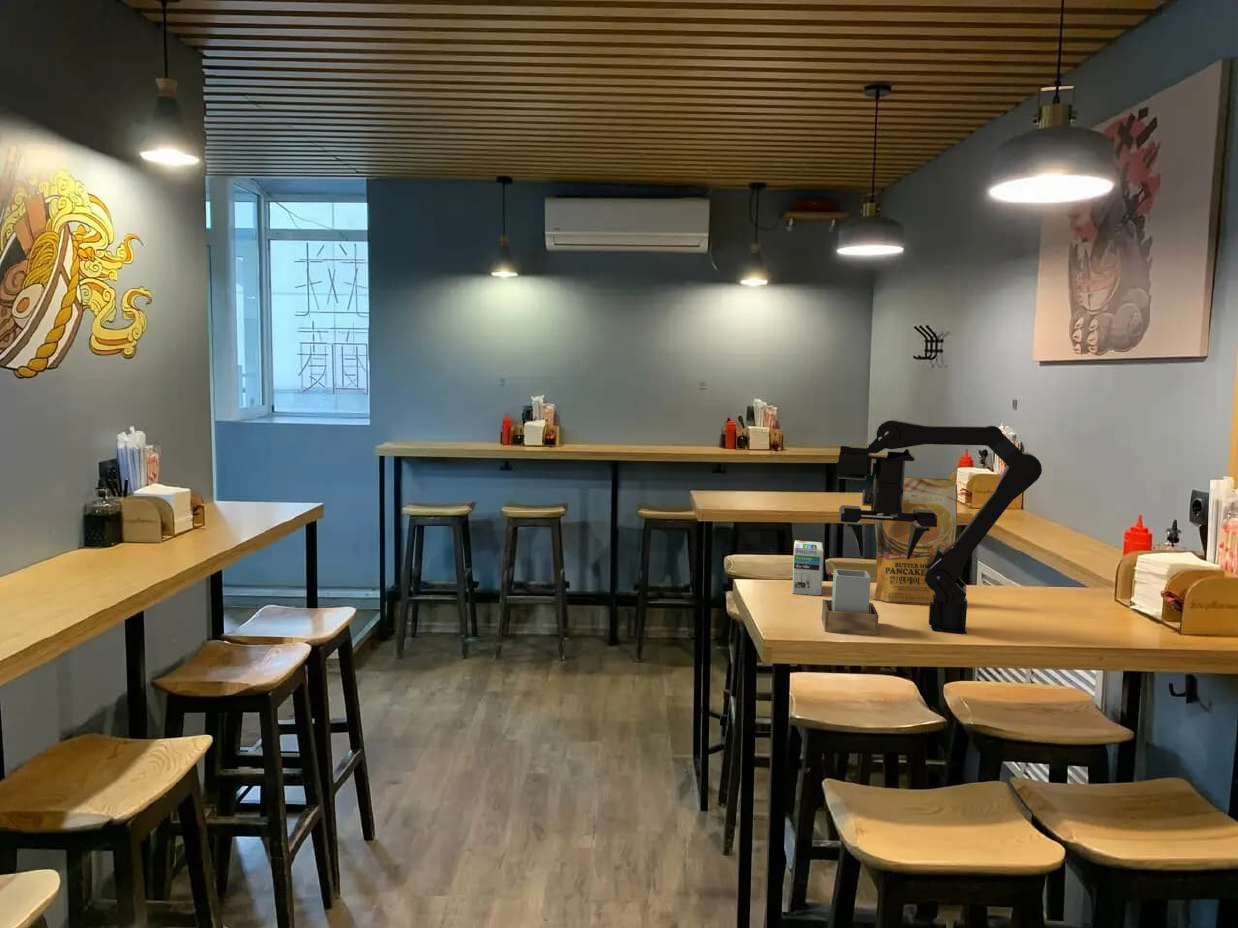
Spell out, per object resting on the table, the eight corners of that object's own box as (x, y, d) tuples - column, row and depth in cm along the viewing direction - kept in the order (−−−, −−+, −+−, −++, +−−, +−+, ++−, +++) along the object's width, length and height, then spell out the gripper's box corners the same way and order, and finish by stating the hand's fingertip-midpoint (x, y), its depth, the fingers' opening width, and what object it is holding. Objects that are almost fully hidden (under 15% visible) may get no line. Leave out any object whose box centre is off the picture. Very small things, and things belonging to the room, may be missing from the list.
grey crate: (863, 619, 181) (866, 571, 180) (867, 628, 175) (870, 577, 174) (831, 617, 182) (833, 568, 181) (833, 625, 176) (836, 575, 175)
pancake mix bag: (863, 595, 206) (870, 473, 203) (949, 599, 204) (957, 477, 201) (868, 602, 199) (876, 477, 197) (957, 607, 197) (966, 480, 195)
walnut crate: (871, 621, 183) (872, 602, 182) (877, 635, 173) (878, 615, 172) (821, 618, 184) (822, 599, 184) (824, 631, 174) (825, 611, 174)
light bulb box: (821, 596, 203) (824, 549, 202) (791, 594, 205) (793, 547, 204) (820, 586, 214) (823, 541, 213) (792, 583, 215) (794, 539, 214)
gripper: (929, 480, 188) (924, 553, 190) (838, 475, 191) (834, 547, 192) (940, 486, 177) (934, 563, 179) (843, 481, 180) (838, 557, 181)
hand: (884, 557), depth 183 cm, fingers open, 9 cm apart
